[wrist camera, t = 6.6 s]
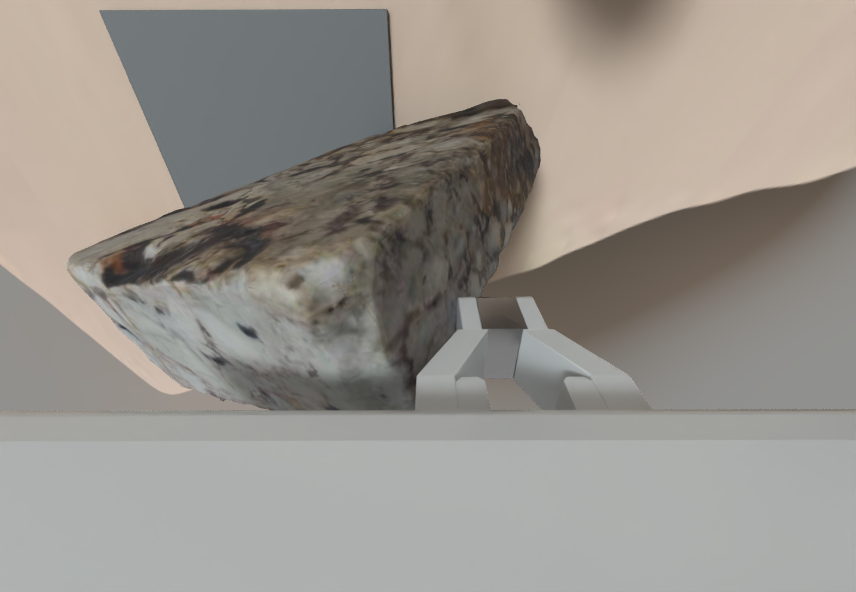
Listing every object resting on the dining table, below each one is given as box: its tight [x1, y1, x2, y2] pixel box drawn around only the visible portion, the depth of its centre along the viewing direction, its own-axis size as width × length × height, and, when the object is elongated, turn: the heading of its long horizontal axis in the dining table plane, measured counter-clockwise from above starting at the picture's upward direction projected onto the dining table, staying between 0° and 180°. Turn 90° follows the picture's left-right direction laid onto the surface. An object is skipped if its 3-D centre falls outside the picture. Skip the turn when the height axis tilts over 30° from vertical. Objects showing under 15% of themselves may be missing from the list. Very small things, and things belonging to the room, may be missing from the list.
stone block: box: [67, 99, 541, 410], centre depth 17 cm, size 13×7×20 cm, turn 111°
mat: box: [99, 9, 394, 208], centre depth 26 cm, size 19×16×1 cm
